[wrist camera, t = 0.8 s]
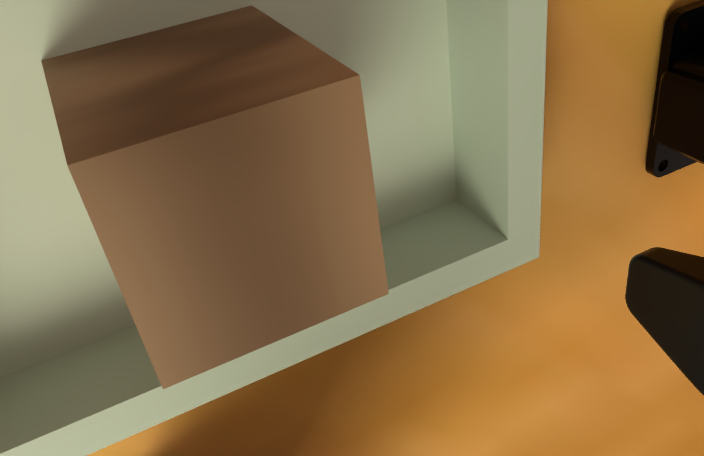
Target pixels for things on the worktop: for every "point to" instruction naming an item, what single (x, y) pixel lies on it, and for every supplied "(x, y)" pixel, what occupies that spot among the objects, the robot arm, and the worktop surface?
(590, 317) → the worktop surface
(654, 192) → the worktop surface
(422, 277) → the crate
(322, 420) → the worktop surface
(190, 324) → the walnut block
